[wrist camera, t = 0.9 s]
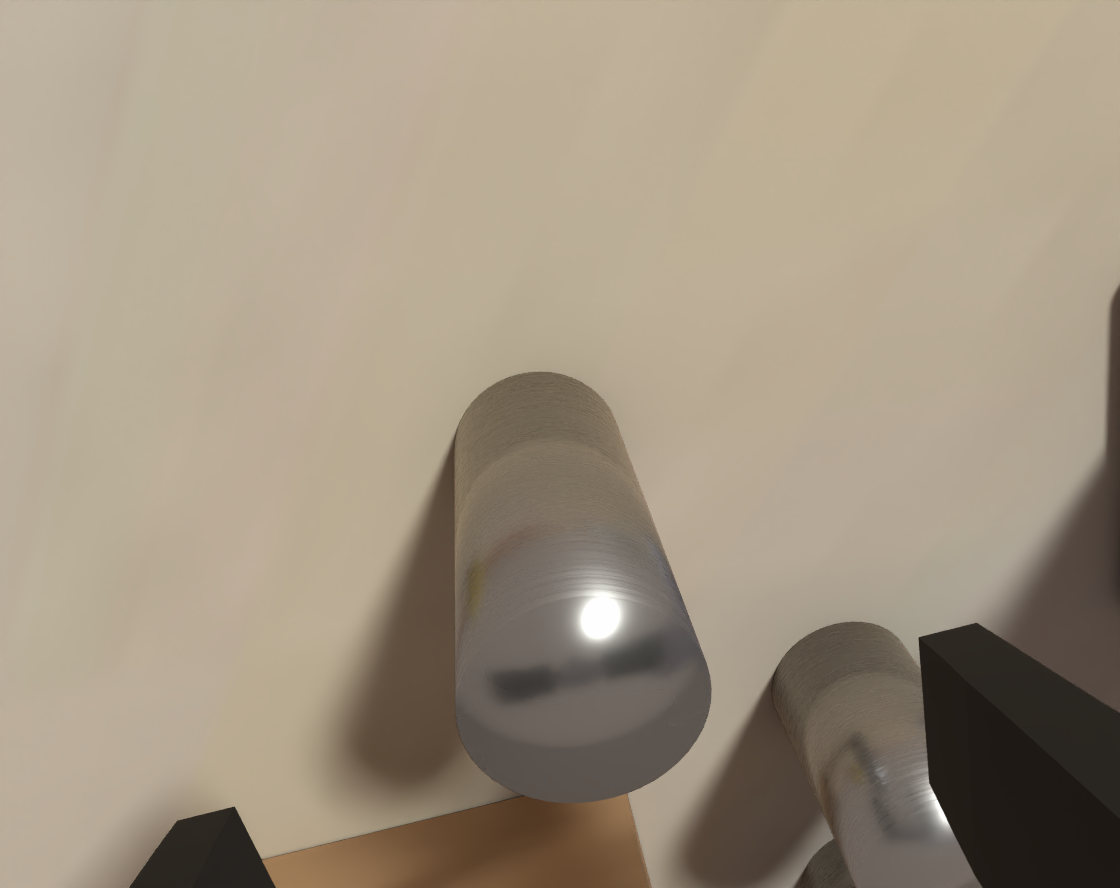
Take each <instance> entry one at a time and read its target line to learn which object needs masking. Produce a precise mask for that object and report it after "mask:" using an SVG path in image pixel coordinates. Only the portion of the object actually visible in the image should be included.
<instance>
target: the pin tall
mask: <svg viewBox="0 0 1120 888" xmlns="http://www.w3.org/2000/svg"><path fill="white" fill-rule="evenodd" d="M454 491H455V712H456V723H457V728H458V731H459V735H460V738H461V740H462V743H463V745H464V747H465V749H466V751H467V752H468V754H469V755H470V757H471V758H472V760H473V761H474V762H475V763H476V765H477V766H478V767H479V768H480V769H481V770H482V771H483V772H484V773H485V774H487V775H488V776H489V777H490V778H491V779H493V780H494V781H496V782H497V783H499V784H501V785H502V786H504V787H505V788H508V789H510V790H512V791H514V792H516V793H518V794H521V795H524V796H527V797H530V798H534V799H539V800H543V801H549V802H558V803H585V802H595V801H600V800H605V799H610V798H614V797H617V796H620V795H624V794H627V793H629V792H632V791H634V790H636V789H639V788H641V787H643V786H645V785H647V784H649V783H650V782H652V781H654V780H656V779H657V778H659V777H660V776H662V775H663V774H665V773H666V772H667V771H668V770H670V769H671V768H672V767H673V766H674V765H676V764H677V763H678V762H679V761H680V760H681V759H682V758H683V757H684V756H685V754H686V753H687V752H688V751H689V750H690V748H691V747H692V746H693V744H694V743H695V742H696V740H697V738H698V736H699V735H700V733H701V731H702V729H703V727H704V724H705V722H706V719H707V716H708V713H709V708H710V703H711V680H710V674H709V670H708V667H707V663H706V660H705V658H704V655H703V652H702V650H701V647H700V645H699V642H698V639H697V637H696V634H695V631H694V629H693V626H692V623H691V621H690V618H689V615H688V613H687V610H686V607H685V605H684V602H683V599H682V597H681V594H680V591H679V589H678V586H677V583H676V581H675V578H674V575H673V573H672V570H671V567H670V565H669V562H668V559H667V557H666V554H665V551H664V549H663V546H662V543H661V541H660V538H659V535H658V533H657V530H656V527H655V525H654V522H653V519H652V517H651V514H650V511H649V509H648V506H647V503H646V501H645V498H644V495H643V493H642V490H641V487H640V485H639V482H638V480H637V477H636V474H635V472H634V469H633V466H632V464H631V461H630V458H629V456H628V453H627V450H626V448H625V445H624V442H623V440H622V437H621V434H620V432H619V429H618V426H617V424H616V421H615V419H614V416H613V414H612V412H611V410H610V409H609V407H608V406H607V404H606V403H605V402H604V400H603V399H602V398H601V397H600V396H599V395H598V394H597V393H596V392H595V391H594V390H592V389H591V388H590V387H588V386H587V385H585V384H584V383H582V382H580V381H578V380H576V379H574V378H571V377H568V376H565V375H561V374H556V373H550V372H529V373H524V374H518V375H515V376H512V377H509V378H506V379H504V380H502V381H499V382H497V383H496V384H494V385H492V386H491V387H489V388H488V389H486V390H485V391H484V392H483V393H481V394H480V395H479V396H478V397H477V398H476V399H475V400H474V401H473V402H472V403H471V405H470V406H469V407H468V409H467V410H466V412H465V414H464V415H463V417H462V419H461V421H460V424H459V426H458V429H457V433H456V438H455V447H454Z"/></svg>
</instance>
